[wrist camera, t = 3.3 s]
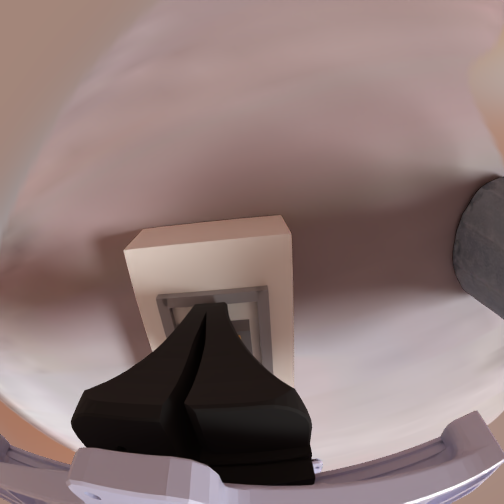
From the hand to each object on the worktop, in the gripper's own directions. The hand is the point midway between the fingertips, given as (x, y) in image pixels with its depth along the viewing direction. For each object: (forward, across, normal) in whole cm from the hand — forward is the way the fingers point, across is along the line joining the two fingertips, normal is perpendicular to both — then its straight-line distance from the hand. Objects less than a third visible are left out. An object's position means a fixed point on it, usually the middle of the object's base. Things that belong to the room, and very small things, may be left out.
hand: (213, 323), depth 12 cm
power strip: (+4, 0, +7) cm, 8 cm away
